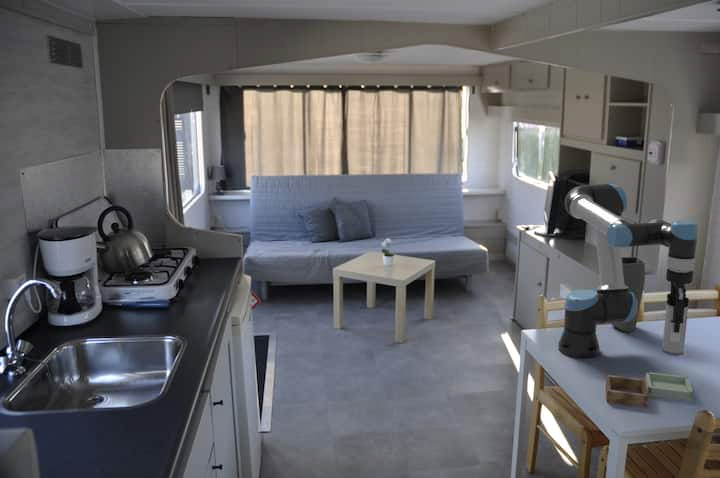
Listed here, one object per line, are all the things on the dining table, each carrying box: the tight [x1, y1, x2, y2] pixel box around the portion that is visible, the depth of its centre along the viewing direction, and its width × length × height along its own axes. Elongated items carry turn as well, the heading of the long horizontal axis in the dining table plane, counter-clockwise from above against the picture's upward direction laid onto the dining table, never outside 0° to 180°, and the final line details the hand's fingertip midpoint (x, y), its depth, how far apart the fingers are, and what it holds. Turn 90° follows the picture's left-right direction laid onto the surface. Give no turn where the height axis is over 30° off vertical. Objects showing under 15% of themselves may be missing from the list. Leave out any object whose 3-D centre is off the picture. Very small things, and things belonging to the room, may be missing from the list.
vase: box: [611, 256, 646, 333], centre depth 252 cm, size 12×12×30 cm
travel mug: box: [661, 293, 690, 357], centre depth 197 cm, size 6×7×20 cm
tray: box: [644, 371, 694, 402], centre depth 202 cm, size 13×12×3 cm
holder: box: [605, 374, 649, 408], centre depth 199 cm, size 12×12×4 cm
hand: (673, 336), depth 198 cm, fingers closed on travel mug, 6 cm apart
